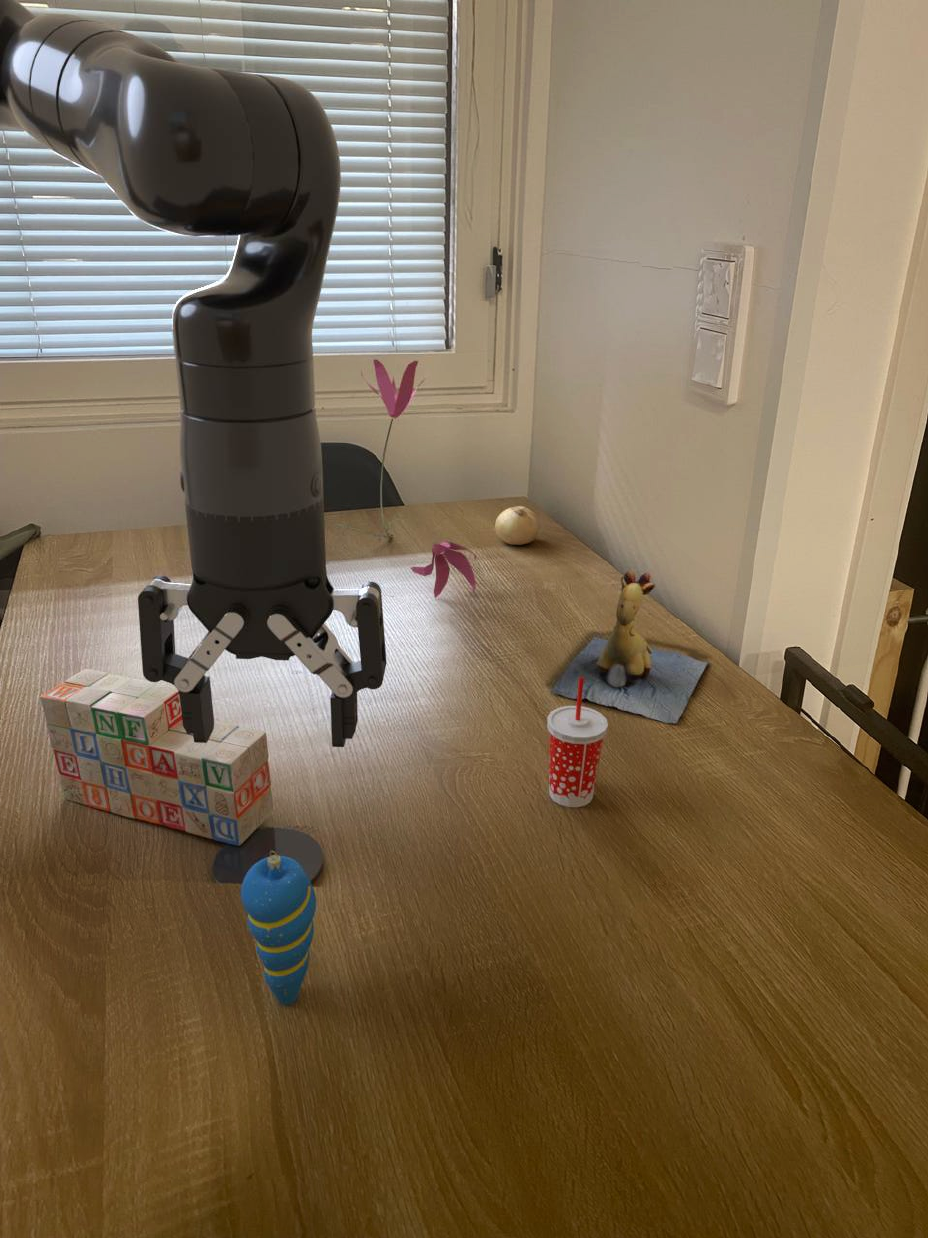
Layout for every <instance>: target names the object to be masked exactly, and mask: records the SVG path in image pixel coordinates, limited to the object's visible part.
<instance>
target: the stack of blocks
mask: <svg viewBox="0 0 928 1238" xmlns="http://www.w3.org/2000/svg"><path fill="white" fill-rule="evenodd" d="M39 697H40V702H41V705H42V706H41V707H42V710H43V714H44V717H45V722H46V728H47V733H48V738H49V742H50V745H51V748H52V749H53V755H54V759H55V764H56V768H57V771H58V774H59V775H58V778H59V783H60V787H61V790H62V791H61V792H62V794H63V798H64V799H65V800H67V801H70V802H74V803H78V804H80V805H85V806H87V807H90V808H94V809H98V810H100V811H101V810H102V811H105V812H109V813H112V814H115V815H119V816H122V817H125V818H130V819H138V820H140V821H145V822H149V823H152V824H156V825H162V826H164V827H169V828H172V829H176V830H179V831H182V832H186V833H189V834H192V835H195V836H200V837H203V838H207V839H211V840H214V841H217V842H221V843H224V844H227V843H229V844H233V845H236V846H240V845H241V844H242V843H243V842H244V841H245V840H246V839H247V838H248V837H249V836H250V835H251V834H252V833H253V831H254V830H256V829H258V828H259V827H260V826H261V824H263V823H264V822H265V821H266V819H268V818H269V816H271V814H272V813H273V811H274V801H273V794H272V788H271V786H272V781H271V774H270V773H271V772H270V765H269V757H270V755H269V748H268V737H267V732H266V731H264V730H260V729H255V728H250V727H244V726H239V725H238V724H233V723H228V722H223V721H219V720H214V729H213V732H212V734H211V736H210V738H209V740H208V742H207V743H195V742H194V738H193V734H187V732H186V731H185V729H184V727H183V721H182V712H181V704H180V696H179V691H178V689H177V688H176V687H175V686H174V685H168V684H164V683H158V682H150V681H148V680H143V679H138V678H132V677H127V676H123V675H118V674H114V673H113V674H112V673H108V672H106V671H100V670H96V669H91V668H84V669H82V670H80V671H79V672H77V673H75V674H74V675H72V676H70V677H69V678H67V679H65V680H64V682H61V683H59V684H57V685H56V686H54V687H52V688H51V689H49V690H48V691H46V692H45V693H43V694H41V695H40V696H39Z"/></svg>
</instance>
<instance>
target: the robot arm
mask: <svg viewBox="0 0 928 1238" xmlns="http://www.w3.org/2000/svg"><path fill="white" fill-rule="evenodd" d="M0 127H7V128H8V127H9V128H14V129H18V130H22V131H25V132H26V133H27V134H28V135H29V136H30V137H31V138H32V139H34V141H36V142H37V143H39V145H41V146H43V147H45V148H46V149H48V150H49V151H51V152H53V153H55V154H57V155H58V156H60V157H62V158H63V159H65V160H67V161H69V162H71V163H73V164H75V165H77V166H79V167H81V168H83V169H85V170H87V171H89V172H91V173H93V174H95V175H97V176H99V177H101V178H102V180H103V181H104V183H105V184H106V185H107V186H108V187H109V189H111V191H112V192H113V193H114V194H115V195H116V196H117V197H118V199H119V200H120V201H121V203H123V205H124V207H126V208H127V209H128V211H129V212H130V213H131V214H132V215H134V217H136V218H137V219H139V220H140V221H142V222H144V223H145V224H147V225H149V226H152V227H154V228H156V229H159V230H161V231H165V232H168V233H172V234H176V235H181V236H188V237H236V236H238V239H237V244H236V248H235V251H234V256H233V258H232V262H231V265H230V268H229V270H228V272H227V273H226V275H225V276H224V277H222V279H220V280H219V281H216V282H214V283H212V284H209V285H206V286H204V287H201V288H198V289H195V290H193V291H191V292H188V293H186V294H185V295H183V296H182V297H180V298H179V299H178V301H176V304H175V305H174V307H173V311H172V318H171V322H172V323H171V326H172V327H171V330H172V344H173V353H174V361H175V372H176V379H177V389H178V399H179V409H180V410H179V412H180V433H179V457H180V459H179V460H180V470H179V471H180V472H179V480H180V489H181V491H182V492H183V499H184V508H185V517H186V527H187V536H188V537H187V538H188V547H189V556H190V567H191V573H192V582H191V584H188V583H177V582H172V580H171V579H170V578H169V577H168V576H166V575H164V574H156V575H155V576H153V578H152V579H151V580H149V581H148V583H147V584H146V585H145V586H144V588H143V589H142V590H141V592H140V593H139V594H138V597H137V607H138V608H137V609H138V620H139V621H138V622H139V636H140V651H141V652H140V653H141V666H142V675H143V677H144V679H145V680H146V681H149V682H153V683H159V682H161V681H163V682H166V683H169V684H171V685H172V686H175V687H176V688H177V689H178V691H179V696H180V704H181V712H182V721H183V727H184V729H185V731H186V732H187V734H193V738H194V742H195V743H207V742H208V740H209V738H210V736H211V734H212V732H213V729H214V721H215V715H214V706H213V696H212V686H211V676H209V675H205V674H207V672H208V671H209V670H210V669H211V668H212V667H213V665H214V664H215V663H216V661H217V660H218V659H219V658H220V656H221V655H222V654H223V652H224V651H227V652H228V653H230V654H232V655H235V659H236V660H252V659H257V658H261V657H262V658H267V659H271V660H274V661H290V658H291V657H294V656H295V657H296V658H297V659H298V660H299V661H300V663H302V665H304V667H305V668H306V669H307V670H308V671H309V672H310V673H311V674H312V675H317V676H318V677H319V678H320V679H321V680H322V681H323V683H324V684H325V685H326V686H327V687H328V688H329V689H330V691H331V695H330V698H329V699H330V700H329V701H330V702H329V703H330V726H331V746H332V748H345V744H346V741H347V740H352V739H353V738H354V736H355V733H356V729H357V725H358V721H359V717H358V716H359V713H358V712H359V710H358V709H359V708H358V692H359V691H361V690H365V689H368V690H377V689H379V688H381V687H382V685H383V684H384V683H383V682H384V678H385V673H386V667H387V651H386V638H385V637H386V636H385V623H384V610H383V609H384V608H383V598H382V597H383V596H382V588H381V586H380V585H379V584H378V583H377V582H375V581H367V582H364V583H363V584H362V586H361V588H352V589H351V588H349V589H348V588H347V589H343V588H342V589H335V587H333V585H332V584H331V582H330V580H329V578H328V573H327V557H326V530H325V529H326V528H325V523H324V522H325V505H324V504H325V503H324V476H323V475H324V474H323V473H324V471H323V454H322V442H321V436H320V431H319V425H318V420H317V409H316V407H315V406H316V390H315V389H316V387H315V386H316V385H315V363H314V346H313V328H314V322H315V317H316V314H317V309H318V306H319V305H318V304H319V301H320V296H321V292H322V287H323V282H324V277H325V273H326V267H327V263H328V259H329V253H330V252H329V251H330V249H331V244H332V239H333V234H334V230H335V225H336V219H337V215H338V210H339V203H340V198H341V197H340V196H341V183H342V172H341V171H342V170H341V158H340V152H339V147H338V143H337V137H336V134H335V132H334V128H333V126H332V123H331V121H330V119H329V117H328V115H327V112H326V111H325V108H324V107H323V105H322V104H321V102H319V100H318V98H317V97H316V96H315V95H314V94H313V93H312V92H311V91H310V90H309V89H307V88H306V87H305V86H303V85H302V84H301V83H298V82H296V81H294V80H291V79H288V78H284V77H279V76H273V75H267V74H260V73H259V74H257V73H250V72H243V71H235V70H228V69H220V68H213V67H207V66H199V65H191V64H187V63H180V62H179V61H178V60H177V59H176V58H175V57H174V56H172V55H171V54H170V53H168V51H165V50H164V49H163V48H161V47H159V46H158V45H156V44H155V43H153V42H151V41H149V40H147V39H144V38H143V37H140V36H137V35H135V34H132V33H130V32H127V31H124V30H122V29H118V28H116V27H113V26H110V25H107V24H104V23H101V22H98V21H95V20H93V19H89V18H85V17H81V16H77V15H73V14H66V13H50V14H48V13H47V14H44V15H41V16H36V14H34V13H33V12H31V11H30V10H29V9H27V8H26V7H25V6H24V5H23V4H22V3H20V1H18V0H0ZM184 606H187V607H188V609H189V611H190V612H191V613H192V615H194V617H195V618H196V619H197V620H198V621H199V622H200V623H201V624H202V625H203V627H204V629H206V630H207V632H206V634H205V635H204V636H203V638H202V639H201V641H200V642H199V643H198V645H196V647H195V649H194V650H193V651H192V653H191V654H190V655H189V656H188V657H187V656H183V655H181V654H178V653H176V639H175V638H176V637H175V636H176V635H175V620H176V619H177V617H178V616H179V615H180V613H181V612H182V610H183V607H184ZM333 611H337V612H340V613H341V614H342V615H343V616H344V619H345V622H346V624H347V625H349V626H350V627H352V628H357V634H358V646H359V658H360V660H357V661H353V660H352V659H351V658H350V656H349V655H348V654H347V653H346V651H344V649H343V648H342V647H341V646H340V644H339V640H338V639H337V636H336V635H335V634H334V633H333V631H331V629H330V628H329V627H328V626H327V625H326V621H328V619H329V618H330V616H332V613H333Z"/></svg>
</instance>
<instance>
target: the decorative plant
mask: <svg viewBox="0 0 928 1238" xmlns="http://www.w3.org/2000/svg"><path fill="white" fill-rule="evenodd" d="M418 364H419V360H413V361H412V362H409V363H408V364H407V366H406V368H405V370H404V372H403V375H402V378H401V382H400V385H399V387H396V382H395V377H394V376H393V377H392V381H391V378H390V375H389V373H388V371H387V369H386V368H385V366H384V364H383V363H381V362H380V360H379V359H373V366H374V371H375V378H376V379H375V380H376V383H377V387H378V389H379V391H377V389H376V388H375V387H374V386H372V385H371V384H370V383H368V381H367V380H366V379H365V378H364V375H363V371H362V370H361V371H360V373H361V378H363V379H364V381H365V383H366V384H367V385H368V387H369V388H370V389H371V390H372V391H373V393H375V394H377V395H379V396H380V398H381V401H382V402H383V404H384V405H385V407H386V410H387V413H388V415H389V416H390V418H391V421H390V424H389V428H388V431H387V435H386V440H385V444H384V448H383V454H382V461H381V469H380V483H379V485H380V487H379V498H380V499H379V504H380V505H379V507H380V515H381V521H382V525H383V529H384V531H385V533H386V535H382V534H378V533H375V532H371V531H368V530H364V529H360V528H356V527H353V526H348V525H344V524H339V523H335V522H328V521H324V524H327V525H332V526H338V527H343V528H347V529H351V530H354V531H358V532H362V533H365V534H370V535H374V536H377V537H380V538H378V542H380V541H381V540H382V539H383V538H388V539H390V538H391V537H393V536H394V534H390V533H389V528H390V525H391V524H392V523H393V522H395V521H404V522H405V523H407V521H406V520H403V519H401V518H400V519H399V518H395V519H391V520H390V521H389V522H388V524H387V525H386V522H385V516H384V509H383V479H384V478H383V476H384V466H385V464H384V463H385V457H386V451H387V447H388V441H389V437H390V434H391V428H392V424H393V421H394V419H398V418H399V417H400V416H401V415H402V414H403V413H404V412H405V410H406V409H407V408H408V407H409V405H410V403H411V401H412V400H413V398H414V396H415V394H416V393H417V390H418V388H419V387H420V385H422V383H424V381H425V380H426V379H427V378H428V374H426V375H425V378H424V379H423V380H422V381H421V382H420V383H419V384H418V385H417V387H416V388H415V389H414V385H415V384H414V383H415V376H416V369H417V366H418ZM428 372H429V371H427V372H426V373H428ZM379 392H380V393H379ZM428 539H429V537H428ZM429 541H430V542H432V541H431V540H430V539H429ZM460 550H461V551H466V552H469V553H471V554H472V555H473V557H474V560H477V555H476V554H475V553H474V552H473V551H471V550H470V549H468V548H467V547H465V546H463V545H461V544H457V543H454V542H451V541H442V542H441V543H433V545H432V549H431V551H432V558H431V563H429V564H427V565H426V566H411V567H410V570H411V571H412V572H413V573H414V574H418V575H420V576H422V577H427V576H430V575H432V574H433V571H434V568H435V581H434V587H433V596H434V599H436V598H437V597H438V596H439V595H441V593H442V592H443V590H444V588H445V587H446V586H447V583H448V582H449V581H448V580H449V577H450V571H451V569H452V570H453V571H454V570H455V571H456V570H458V572H459V573H460V574H462V575H463V577H464V578H465V579H466V581H467V582H468V584H469V585H470V586H471V588H472V590H473V593H474V594H476V586H477V585H476V584H477V581H476V578H475V575H474V571H473V568H472V565H471V564H470V561H469V559H468V558H467V556H466V555H465V554H464V553H462V552H460ZM449 564H450V565H451V566H452V567H451V566H450V565H449ZM434 566H435V567H434ZM450 567H451V568H450ZM453 567H454V568H453Z"/></svg>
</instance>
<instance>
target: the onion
mask: <svg viewBox="0 0 928 1238" xmlns="http://www.w3.org/2000/svg"><path fill="white" fill-rule="evenodd" d="M494 525H495V526H494V530H495V533H496V536H497V537H498V539H499V540H500V541H502V542H503V543H505V544H507V545H511V546H512V545H513V546H515V545H516V546H521V545H526V544H529V543H532V542H533V541H534V540H535V539H536V538H537V536H538V534H539V530H540V522H539V518H538V516H537V515H536V514H535V513H534V512H533V511H532V510H530V509H528V508H527V507H525V506H522V505H521V506H520V505H519V506H518V505H517V506H511V507H509V508H506V509H504V510H503V511H501V513H499V515H498V516H497V518H496V520H495V523H494Z"/></svg>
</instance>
